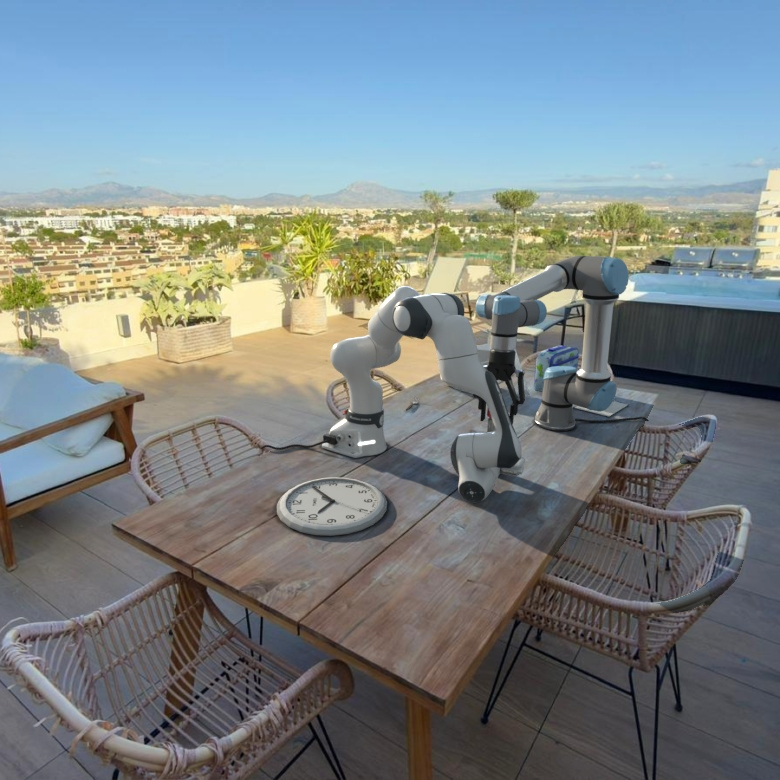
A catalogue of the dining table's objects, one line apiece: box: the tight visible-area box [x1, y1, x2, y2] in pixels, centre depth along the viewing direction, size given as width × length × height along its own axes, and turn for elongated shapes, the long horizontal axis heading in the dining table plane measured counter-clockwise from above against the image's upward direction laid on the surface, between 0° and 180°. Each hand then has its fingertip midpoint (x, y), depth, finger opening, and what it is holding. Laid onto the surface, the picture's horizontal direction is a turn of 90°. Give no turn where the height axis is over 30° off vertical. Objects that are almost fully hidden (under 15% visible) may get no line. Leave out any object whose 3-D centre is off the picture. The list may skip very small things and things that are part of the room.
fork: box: [405, 396, 421, 411], centre depth 222 cm, size 3×16×2 cm, turn 160°
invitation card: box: [573, 400, 629, 418], centre depth 226 cm, size 21×1×15 cm
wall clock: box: [276, 476, 388, 537], centre depth 142 cm, size 30×2×30 cm
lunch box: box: [533, 345, 580, 393], centre depth 245 cm, size 26×11×21 cm, turn 135°
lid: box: [486, 407, 492, 418], centre depth 159 cm, size 6×6×2 cm
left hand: (494, 450), depth 163 cm, fingers closed on jar, 5 cm apart
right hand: (496, 422), depth 160 cm, fingers open, 8 cm apart
